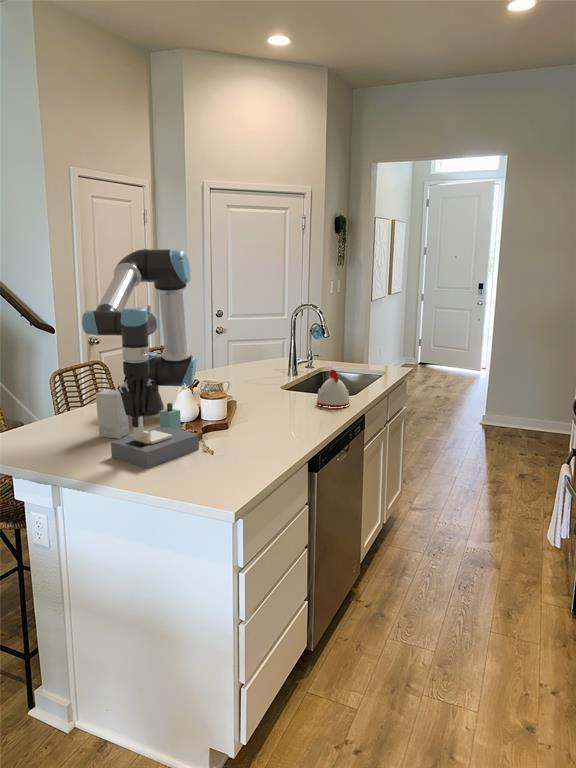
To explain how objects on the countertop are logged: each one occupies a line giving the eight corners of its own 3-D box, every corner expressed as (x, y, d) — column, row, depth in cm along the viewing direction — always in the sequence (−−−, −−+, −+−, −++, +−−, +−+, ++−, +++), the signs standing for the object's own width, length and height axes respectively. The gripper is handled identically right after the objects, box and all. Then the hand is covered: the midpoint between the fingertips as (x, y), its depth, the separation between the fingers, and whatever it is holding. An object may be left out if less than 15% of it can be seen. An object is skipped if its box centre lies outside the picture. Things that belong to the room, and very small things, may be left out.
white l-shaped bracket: (131, 439, 182) (131, 428, 181) (154, 432, 189) (153, 422, 189) (150, 444, 177) (150, 433, 177) (172, 437, 185) (172, 426, 184)
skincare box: (129, 434, 205) (127, 390, 201) (118, 439, 199) (116, 395, 195) (109, 431, 207) (107, 388, 204) (97, 436, 201) (95, 392, 198)
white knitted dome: (341, 400, 259) (342, 366, 256) (354, 407, 247) (356, 372, 243) (312, 401, 255) (313, 368, 252) (323, 409, 242) (325, 374, 239)
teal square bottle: (160, 436, 203) (159, 403, 201) (170, 432, 207) (169, 401, 205) (170, 438, 201) (169, 406, 198) (180, 435, 205) (180, 403, 202)
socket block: (111, 457, 181) (110, 441, 180) (164, 440, 199) (163, 425, 198) (147, 468, 172) (146, 452, 171) (198, 449, 190) (198, 434, 189)
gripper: (127, 365, 166) (130, 444, 171) (161, 358, 177) (163, 433, 182) (109, 362, 170) (113, 439, 176) (144, 356, 181) (146, 429, 186)
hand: (138, 436), depth 179 cm, fingers closed
